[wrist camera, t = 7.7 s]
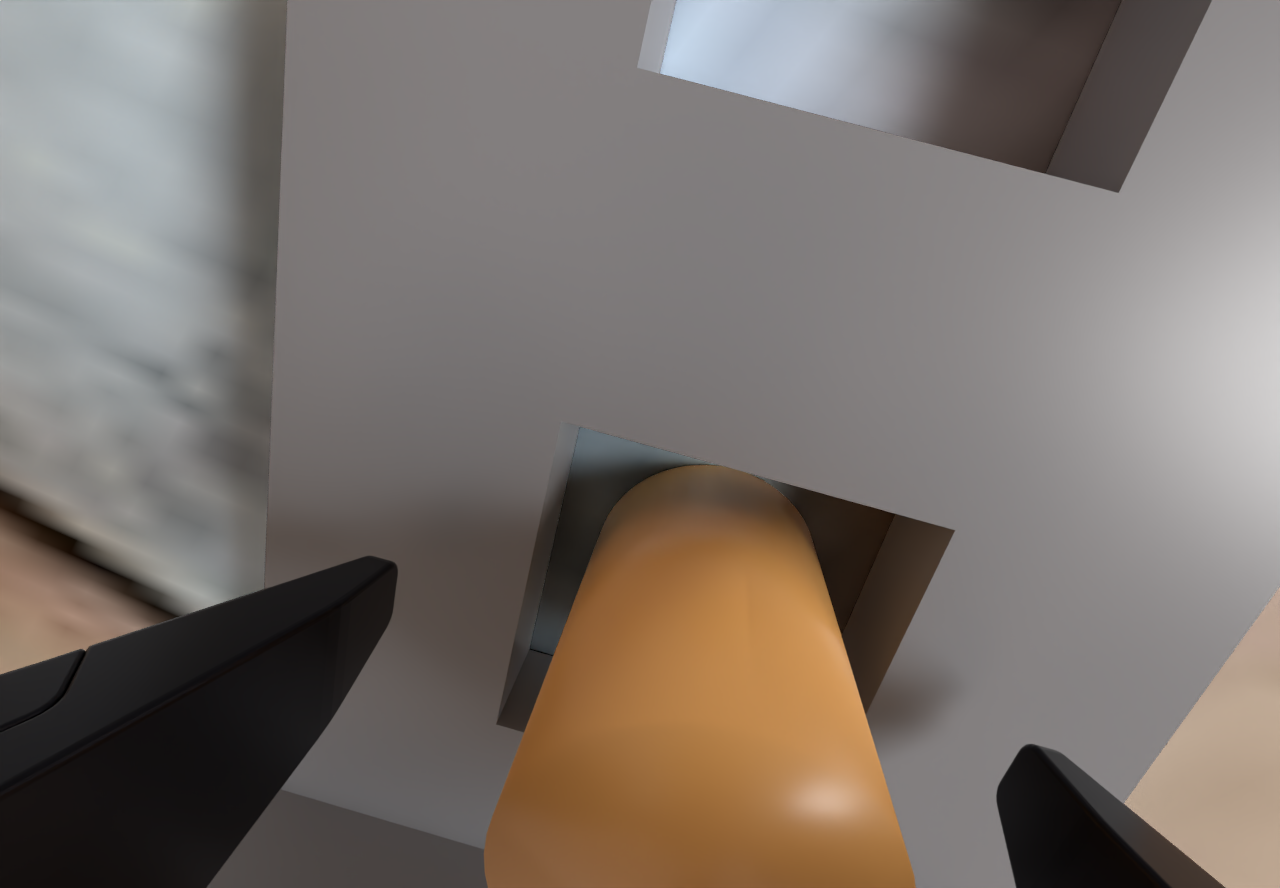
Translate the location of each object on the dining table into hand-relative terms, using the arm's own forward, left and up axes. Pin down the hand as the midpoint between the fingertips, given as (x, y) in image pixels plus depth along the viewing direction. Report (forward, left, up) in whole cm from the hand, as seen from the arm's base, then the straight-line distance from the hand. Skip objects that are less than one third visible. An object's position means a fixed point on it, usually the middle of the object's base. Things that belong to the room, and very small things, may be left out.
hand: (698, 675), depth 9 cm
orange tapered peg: (0, 0, -3) cm, 3 cm away
